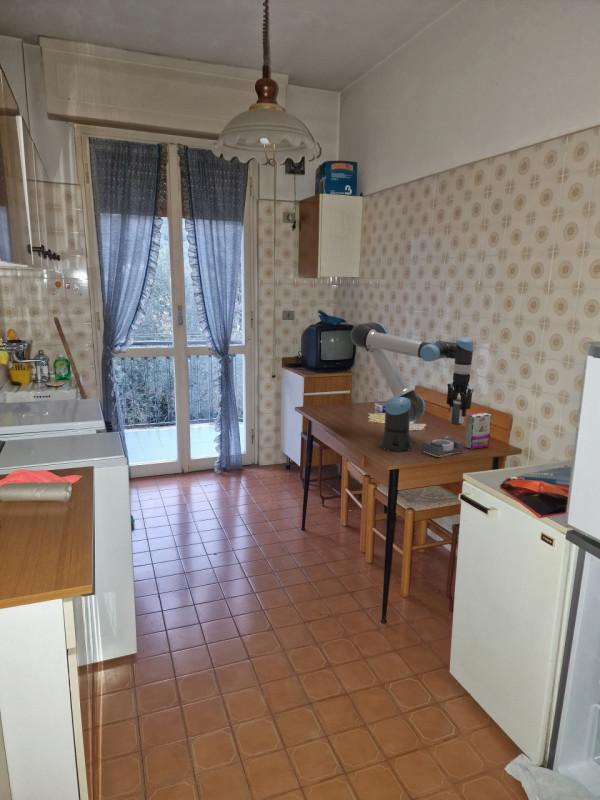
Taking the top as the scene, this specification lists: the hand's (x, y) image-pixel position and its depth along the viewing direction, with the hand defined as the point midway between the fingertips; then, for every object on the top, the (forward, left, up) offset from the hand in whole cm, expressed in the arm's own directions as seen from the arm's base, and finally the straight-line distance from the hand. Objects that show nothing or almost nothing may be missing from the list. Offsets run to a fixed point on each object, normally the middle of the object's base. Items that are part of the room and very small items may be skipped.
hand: (456, 421), depth 254 cm
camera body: (-8, 0, -14) cm, 16 cm away
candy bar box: (+13, -2, -14) cm, 19 cm away
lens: (0, 0, -1) cm, 1 cm away
